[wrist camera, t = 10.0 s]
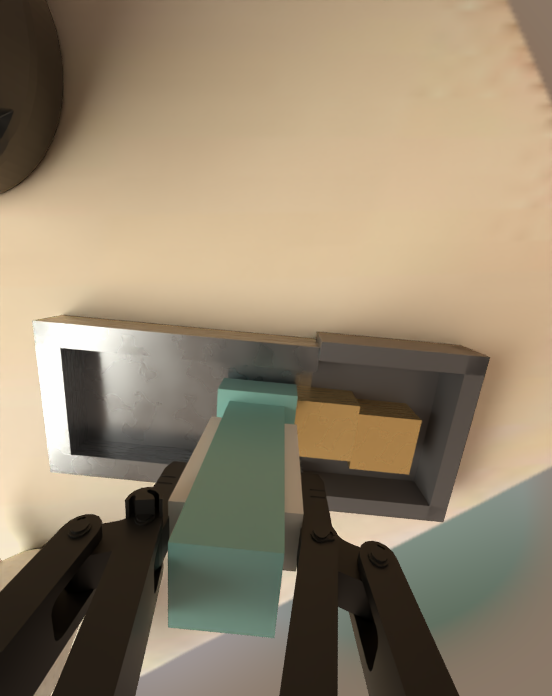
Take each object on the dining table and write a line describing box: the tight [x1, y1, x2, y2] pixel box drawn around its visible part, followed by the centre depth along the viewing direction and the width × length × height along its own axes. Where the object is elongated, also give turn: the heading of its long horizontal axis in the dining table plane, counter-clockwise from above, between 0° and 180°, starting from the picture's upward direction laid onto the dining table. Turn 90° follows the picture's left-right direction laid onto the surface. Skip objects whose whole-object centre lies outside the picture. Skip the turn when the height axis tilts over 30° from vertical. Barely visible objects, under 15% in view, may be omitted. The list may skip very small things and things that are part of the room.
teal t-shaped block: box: [168, 378, 298, 638], centre depth 15 cm, size 5×5×12 cm
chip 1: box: [294, 386, 360, 461], centre depth 20 cm, size 4×4×2 cm
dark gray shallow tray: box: [32, 315, 320, 482], centre depth 21 cm, size 11×18×2 cm, turn 85°
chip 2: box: [347, 399, 422, 475], centre depth 20 cm, size 4×4×2 cm
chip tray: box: [302, 332, 490, 522], centre depth 20 cm, size 12×10×3 cm
